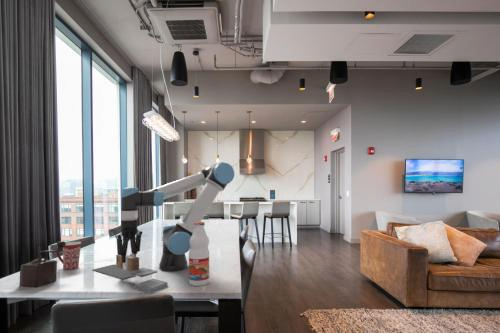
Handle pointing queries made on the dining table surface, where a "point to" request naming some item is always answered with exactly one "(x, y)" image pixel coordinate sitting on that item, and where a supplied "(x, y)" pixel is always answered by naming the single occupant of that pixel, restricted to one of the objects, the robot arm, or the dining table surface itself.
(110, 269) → the mat
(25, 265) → the manual coffee grinder
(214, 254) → the dining table surface
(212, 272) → the dining table surface
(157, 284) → the tile
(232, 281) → the dining table surface
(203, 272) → the fruit juice
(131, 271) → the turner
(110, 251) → the dining table surface
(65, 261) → the mug
